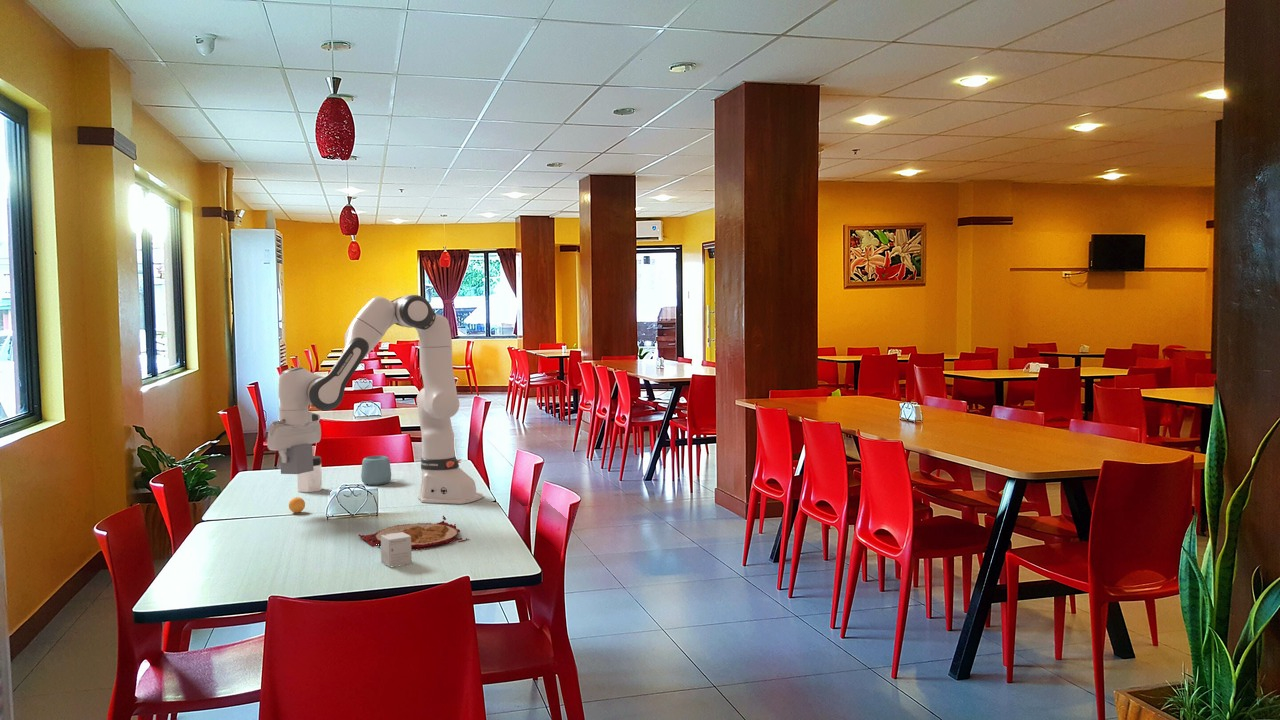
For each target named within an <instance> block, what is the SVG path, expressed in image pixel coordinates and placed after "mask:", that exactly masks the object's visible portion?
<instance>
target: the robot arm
mask: <svg viewBox="0 0 1280 720" xmlns="http://www.w3.org/2000/svg"><path fill="white" fill-rule="evenodd" d="M393 325H397V326H400V327H403V328H412V329H413V328H414V329H415V330H416V332H417V334H418V338H419V341H418V342H419V343H418V345H419V346H418V347H419V370H420V374H421V377H422V383H423V387H422V388H421V389H420V390H419V391H418V392H417V394H416V395H417V396H416V400H415V401H416V405H417V411H418V421H419V422H418V423H419V427H420V432H421V433H420V434H421V458H420V469H421V481H420V482H421V483H420V489H419V492H418V493H419V494H418V496H417V499H418V500H420V502H421V503H431V504H432V503H433V504H456V505H458V504H459V505H461V504H468V503H472V502H473V503H474V502H476V501H478V500H481V499H482V498H483V497H484V493H480V492H478V491H477V487H476V482H475V479H473V478H472V477H471V476H470V475H468V473H466V472H465V471H464V470H463V469H462V468H460V463H462V459H461V458H460V459H457V457H456V456H455V432H454V430H453V425H452V421H451V418H452V417H454V416H455V415H456V414H457V413H458V412H459V409H460V400H459V397H458V391H457V386H456V385H457V384H456V379H455V375H454V366H453V365H454V364H453V340H452V332H451V326H450V323H449V320H448V318H447V317H446V316H443V315H441V314H438V313H437V314H436V312H435V310H434V309H433V307H432V306H431V304H430V302H429V300H427V298H425V297H423V296H421V295H418V294H406V295H404V296H400V297H397V298H395V299H393V300H389V299H387V298H385V297H382V296H375V297H373V298H371V299H370V300H369V301H367V303H366V304H365V305H364V306H362V308H361V309H360V310H359V311H358V313H357V314H356V315H355V316H354V318H353V319H352V320H351V322H350V323H349V326H348V327H347V330H346V331H345V333H344V348H343V351H342V353H341V355H340V357H338V359H337V361H336V362H335V364H334V365H333V366H332V367H331V370H330V371H329V373H327V374H326V375H325V376H322V375H319V374H316V373H314V372H311V371H309V370H307V369H306V368H305V367H301V366H300V367H299V366H298V367H291V368H288V369H286V370H283V371H282V372H281V373H280V375H279V378H278V398H279V402H280V403H279V407H278V412H279V413H278V418H279V420H273V421H272V422H271V423H270V425H268V426H269V427H268V433H267V443H266V444H267V449H268V450H269V451H278V455H279V457H280V456H281V457H282V463H287V462H289V457H287V455H286V453H285V452H287V448H291V447H292V446H298V445H303V444H312V445H313V444H317V443H320V441H321V438H322V428H321V427H322V426H321V423H320V422H319V421H320V420H321V414H319V413H315V412H311V411H309V407H310V406H313V407H314V408H316V409H318V410H319V411H326V412H327V411H331V410H334V409H336V408H337V407H339V406H340V405H341V403H342V401H343V400H344V399H343V398H344V396H345V395H344V394H345V390H346V387H347V384H348V382H349V380H350V379H351V378H352V377H353V375H354V373H355V372H356V370H357V369H358V367H359V366H360V364H361V363H362V361H363V360H364V359H365V358H366V357H367V356H368V355H369V353H371V352H372V351H373V349H374V348H376V346H377V345H378V344H379V342H381V340H382V339H383V337H385V334H386V333H387V331H388V330H389V329H390V328H391V327H392V326H393Z"/></svg>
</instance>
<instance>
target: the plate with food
mask: <svg viewBox="0 0 1280 720" xmlns="http://www.w3.org/2000/svg"><path fill="white" fill-rule="evenodd" d="M446 520H447V518H446V517H445V515H442V520H441V521H440V522H437V523H431V522H422V523H421V522H418V523H407V524H406V523H405V524H397V525H394V526H389V527H387V528H385V529H381V530H378V531H377V532H376V533H372V534H366V535H365V534H360V533H358V537H360V539H362V540H363V541H365V542H366V543H367V544H368V545H370V546H372V547H378V544H379V546H380V545H381V535H387V534H392V533H400V532H403V533H406V534H408V535H410V536H411V550H416V549H418V550H416V551H421V549H422V550H424V551H428V550H429V551H430V549H432V548H436V547H440V546H444V545H448V544H451V543H453V542H456V541H457V543H463V542H467V541H470V539H468V538H466V537H465V539H463V538H462V537H457V536H459V533H460V532H461V530H460V529H458V528H457V526H456V523H454V524H450V523H448V522H445V521H446ZM452 541H453V542H452ZM450 542H451V543H450ZM376 544H377V545H376ZM431 547H432V548H431ZM424 548H425V549H424Z"/></svg>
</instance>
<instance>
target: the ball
mask: <svg viewBox="0 0 1280 720" xmlns="http://www.w3.org/2000/svg"><path fill="white" fill-rule="evenodd" d="M305 506H306V502H305V500H304V499H303V498H302V497H299V496H297V497H293V498H291V499H290V500H289V501H288V508H289V509H288V510H289V511H291V512H292V513H295V514H297V513H301V512H302V511H304V509H305Z"/></svg>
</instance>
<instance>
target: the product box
mask: <svg viewBox="0 0 1280 720" xmlns="http://www.w3.org/2000/svg"><path fill="white" fill-rule="evenodd" d="M411 550H412V549H411V536H410V535H408V534H406V533H403V532H400V533H392V534H387V535H381V548H380V551H381V552H380V563H382V564H383V563H384V564H383V565H385V566H386V565H387V566H386V567H388V566H389V567H388V568H390V567H391V566H396V567H400V566H399V565H402V566H405V564H408V565H411V564H412V563H413V562H412V559H413V557H412V555H413V553H412V551H411ZM391 568H392V567H391Z"/></svg>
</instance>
